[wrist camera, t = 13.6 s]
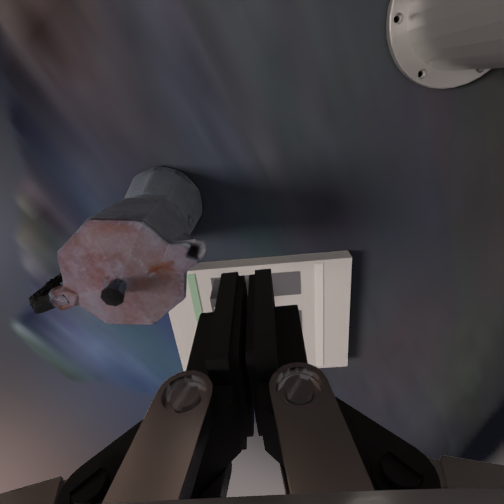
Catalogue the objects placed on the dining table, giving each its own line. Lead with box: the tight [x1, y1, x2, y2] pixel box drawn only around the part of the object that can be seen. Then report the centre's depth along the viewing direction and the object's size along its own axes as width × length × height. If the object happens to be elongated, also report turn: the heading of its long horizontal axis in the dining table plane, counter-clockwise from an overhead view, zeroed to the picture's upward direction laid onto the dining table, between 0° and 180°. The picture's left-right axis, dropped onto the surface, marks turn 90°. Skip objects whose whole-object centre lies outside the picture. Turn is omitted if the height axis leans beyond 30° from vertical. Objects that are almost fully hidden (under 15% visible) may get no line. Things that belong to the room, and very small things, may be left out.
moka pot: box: [29, 166, 207, 324], centre depth 31 cm, size 10×15×20 cm, turn 114°
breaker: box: [210, 280, 220, 312], centre depth 41 cm, size 2×3×4 cm
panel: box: [169, 250, 352, 371], centre depth 46 cm, size 24×18×2 cm
